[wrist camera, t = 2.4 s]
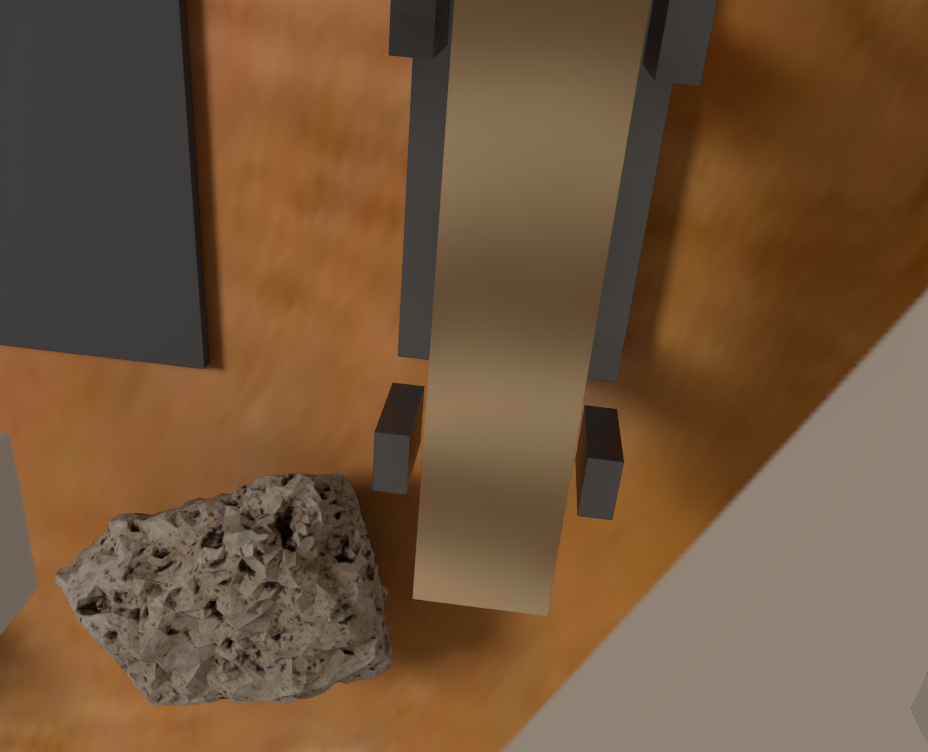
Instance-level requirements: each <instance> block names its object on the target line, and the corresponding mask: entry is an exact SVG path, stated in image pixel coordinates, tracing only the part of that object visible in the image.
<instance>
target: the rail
mask: <svg viewBox="0 0 928 752" xmlns="http://www.w3.org/2000/svg"><path fill="white" fill-rule="evenodd" d="M650 2H651V0H454V13H453V27H452V41H451V56H450V70H449V84H448V99H447V113H446V127H445V142H444V156H443V170H442V185H441V199H440V213H439V228H438V242H437V256H436V271H435V285H434V299H433V314H432V328H431V342H430V357H429V371H428V385H427V400H426V414H425V428H424V443H423V457H422V471H421V486H420V500H419V514H418V529H417V543H416V557H415V572H414V586H413V599H418V600H425V601H433V602H441V603H448V604H456V605H464V606H472V607H479V608H487V609H495V610H502V611H510V612H518V613H525V614H533V615H541V616H547V612H548V606H549V601H550V595H551V589H552V583H553V577H554V571H555V565H556V559H557V553H558V547H559V541H560V535H561V529H562V523H563V518H564V512H565V506H566V500H567V494H568V488H569V482H570V476H571V470H572V464H573V458H574V452H575V446H576V440H577V435H578V429H579V423H580V417H581V411H582V405H583V399H584V393H585V387H586V381H587V375H588V369H589V363H590V357H591V352H592V346H593V340H594V334H595V328H596V322H597V316H598V310H599V304H600V298H601V292H602V286H603V280H604V274H605V269H606V263H607V257H608V251H609V245H610V239H611V233H612V227H613V221H614V215H615V209H616V203H617V197H618V191H619V186H620V180H621V174H622V168H623V162H624V156H625V150H626V144H627V138H628V132H629V126H630V120H631V114H632V108H633V103H634V97H635V91H636V85H637V79H638V73H639V67H640V61H641V55H642V49H643V43H644V37H645V31H646V25H647V20H648V14H649V8H650Z"/></svg>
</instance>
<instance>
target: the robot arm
mask: <svg viewBox="0 0 928 752" xmlns="http://www.w3.org/2000/svg"><path fill="white" fill-rule="evenodd" d="M37 589H38V583H37V577H36V572H35V567H34V562H33V556H32V551H31V546H30V540H29V535H28V530H27V525H26V519H25V514H24V509H23V504H22V498H21V493H20V488H19V482H18V477H17V472H16V467H15V461H14V456H13V451H12V446H11V440H10V435H9V434H4V433H0V635H1V634H2V632H3V631H4V630H5V629H6V627H7V626H8V625H9V624H10V622H11V621H12V620H13V619H14V617H15V616H16V615H17V614H18V612H19V611H20V610H21V609H22V607H23V606H24V605H25V604H26V603H27V601H28V600H29V599H30V598H31V596H32V595H33V594H34V593H35V591H36V590H37ZM911 710H912V712H913V714H914V717H915V719H916V721H917V723H918V725H919V727H920V730H921V732H922V734H923V736H924V738H925V741H926V743H927V745H928V673H927V675H926V677H925V680H924V681H923V683H922V686H921V688H920V690H919V692H918V694H917V696H916V698H915V700H914V703H913V705H912V707H911Z"/></svg>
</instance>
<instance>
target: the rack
mask: <svg viewBox="0 0 928 752" xmlns="http://www.w3.org/2000/svg"><path fill="white" fill-rule="evenodd" d="M716 5H717V0H651V2H650V8H649V14H648V20H647V25H646V31H645V37H644V43H643V49H642V55H641V61H640V67H639V73H638V79H637V85H636V91H635V97H634V103H633V108H632V114H631V120H630V126H629V132H628V138H627V144H626V150H625V156H624V162H623V168H622V174H621V180H620V186H619V191H618V197H617V203H616V209H615V215H614V221H613V227H612V233H611V239H610V245H609V251H608V257H607V263H606V269H605V274H604V280H603V286H602V292H601V298H600V304H599V310H598V316H597V322H596V328H595V334H594V340H593V346H592V352H591V357H590V363H589V369H588V375H587V378H589V379H598V380H606V381H615V382H617V378H618V373H619V368H620V362H621V357H622V352H623V347H624V341H625V336H626V331H627V325H628V320H629V315H630V309H631V304H632V299H633V293H634V288H635V283H636V277H637V272H638V267H639V261H640V256H641V251H642V245H643V240H644V235H645V229H646V224H647V219H648V213H649V208H650V203H651V197H652V192H653V187H654V181H655V176H656V171H657V165H658V160H659V155H660V149H661V144H662V139H663V133H664V128H665V123H666V117H667V112H668V107H669V101H670V96H671V91H672V85H673V84H682V85H693V86H700V84H701V79H702V74H703V69H704V64H705V59H706V54H707V49H708V44H709V39H710V34H711V29H712V25H713V20H714V15H715V10H716ZM453 13H454V0H391V10H390V36H389V55H391V56H401V57H411V58H413V65H412V85H411V105H410V125H409V145H408V165H407V185H406V204H405V224H404V244H403V264H402V284H401V304H400V324H399V344H398V356H400V357H408V358H417V359H425V360H429V357H430V342H431V328H432V314H433V299H434V285H435V271H436V256H437V242H438V228H439V213H440V199H441V185H442V170H443V156H444V142H445V127H446V113H447V99H448V84H449V70H450V56H451V41H452V27H453ZM423 400H424V386H416V385H408V384H399V383H392V386H391V389H390V391H389V394H388V397H387V400H386V402H385V405H384V408H383V410H382V413H381V416H380V419H379V421H378V424H377V427H376V430H375V433H374V460H373V486H372V491H381V492H389V493H397V494H405V495H406V494H407V490H408V486H409V482H410V479H411V475H412V471H413V468H414V464H415V460H416V456H417V453H418V449H419V445H420V442H421V429H422V414H423ZM575 463H576V489H577V514H578V516H582V517H590V518H598V519H606V520H612V519H613V514H614V509H615V504H616V499H617V494H618V489H619V484H620V479H621V474H622V470H623V465H624V459H623V451H622V444H621V436H620V428H619V421H618V413H617V409H612V408H603V407H595V406H586V405H585V406H584V412H583V417H582V423H581V429H580V435H579V441H578V447H577V453H576V459H575Z"/></svg>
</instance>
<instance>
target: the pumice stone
mask: <svg viewBox="0 0 928 752" xmlns="http://www.w3.org/2000/svg"><path fill="white" fill-rule="evenodd" d="M365 525H366V524H365V522H364V521H363V519H362V515H361V510H360V505H359V502H358V499H357V496H356V493H355V491H354V488H353V486H352V484H351V482H350V481H349V480H348V479H346V478H345V477H344V476H340V475H339V474H322V475H308V474H297V473H296V474H284V475H272V476H264V477H260V478H257V479H256V480H255V481H254V482H252V483H250V484H247V485H244V486H241V487H238V488H237V489H236V490H235V492H234V493H233V494H224V493H221V494H219V495H217V496H216V497H214V498H211V499H202V498H198V499H194V500H190V501H187V502H185V503H184V504H183V505H182V506H181V507H180V508H176V509H170V510H167V511H164V512H159V513H156V514H153V515H149V514H143V513H127V514H119V515H118V516H116V517H114V518H113V519H111V520H109V528H108V531H106V532H105V533H104V534H102V535H101V536H100V537H98V538H97V539H96V540H95V541H94V542H93V544H92V545H91V547H90V548H88V549H85V550H82V551H81V552H80V553H79V555H78V556H77V557H76V558H75V559H74V560H73V561H72V562H71V563H70V564H68V565H67V566H65V567H63V568H61V569H59V571H58V572H57V573H56V574H55V583H56V584H57V585H58V586H59V587H61V588H62V589H63V591H64V594H65V596H66V598H67V599H68V601H69V603H70V605H71V607H72V609H73V612H74V614H75V616H76V618H77V620H78V622H79V623H80V624H81V625H82V626H83V627H85V628H86V629H87V630H88V632H89V633H90V635H91V636H92V638H93V639H95V640H96V641H97V642H98V643H99V644H100V646H101V648H102V649H103V650H104V651H106V652H107V653H108V654H109V655H111V657H112V658H114V659H115V660H116V662H117V663H118V664H119V666H120V668H121V669H122V671H123V672H124V673H125V674H126V675H127V676H128V677H129V678H130V680H131V681H132V682H133V683H134V685H135V686H136V687H137V688H138V689H139V690H140V691H141V693H142V694H143V695H144V697H145V698H146V699H147V701H148V702H149V703H150V704H151V705H181V706H182V705H195V704H200V703H211V702H214V701H217V700H220V699H228V700H231V701H233V702H236V703H243V702H267V701H269V702H271V703H273V702H277V701H280V700H282V702H283V703H287V702H292V701H296V700H300V699H306V698H312V697H314V696H317V695H319V694H322V693H324V692H325V691H327V690H328V689H329V688H330V687H331V686H332V685H333V684H334V683H335V682H342V683H346V684H347V683H350V682H353V681H357V680H365V679H372V678H376V677H378V676H379V675H380V674H382V673H383V672H384V671H386V670H387V669H388V668H389V667H391V665H392V661H393V652H392V641H391V636H390V633H389V630H388V628H387V627H386V625H385V624H384V623H383V622H384V621H385V620H386V617H385V610H384V603H385V599H386V597H387V595H388V592H389V590H388V589H387V588H386V587H385V586H384V585H383V584H382V583H381V580H380V577H379V575H378V565H379V564H376V563H375V554H374V552H373V550H372V548H371V544H370V539H368V538H367V537H365V536H366V535H367V534H368V533H367V530H366V528H365Z"/></svg>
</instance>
